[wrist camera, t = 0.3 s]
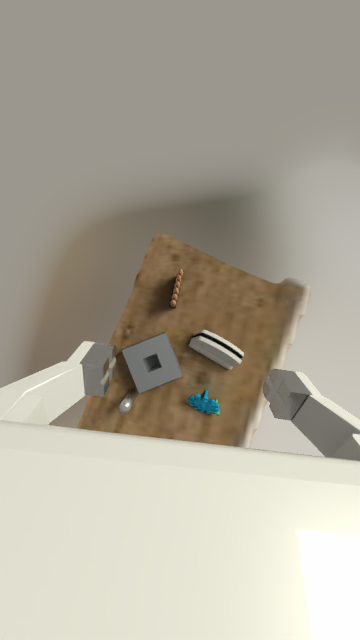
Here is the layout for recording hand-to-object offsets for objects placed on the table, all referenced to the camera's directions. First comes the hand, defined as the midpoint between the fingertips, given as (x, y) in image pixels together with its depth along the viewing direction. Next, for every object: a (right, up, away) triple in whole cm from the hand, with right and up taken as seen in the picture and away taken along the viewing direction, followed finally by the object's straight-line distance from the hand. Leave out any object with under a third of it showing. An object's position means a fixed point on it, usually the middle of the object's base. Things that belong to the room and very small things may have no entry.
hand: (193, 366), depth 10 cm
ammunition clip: (-2, +12, +53) cm, 54 cm away
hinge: (+11, -7, +54) cm, 55 cm away
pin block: (-9, -11, +53) cm, 54 cm away
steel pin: (-17, -22, +52) cm, 59 cm away
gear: (+7, -24, +54) cm, 59 cm away
